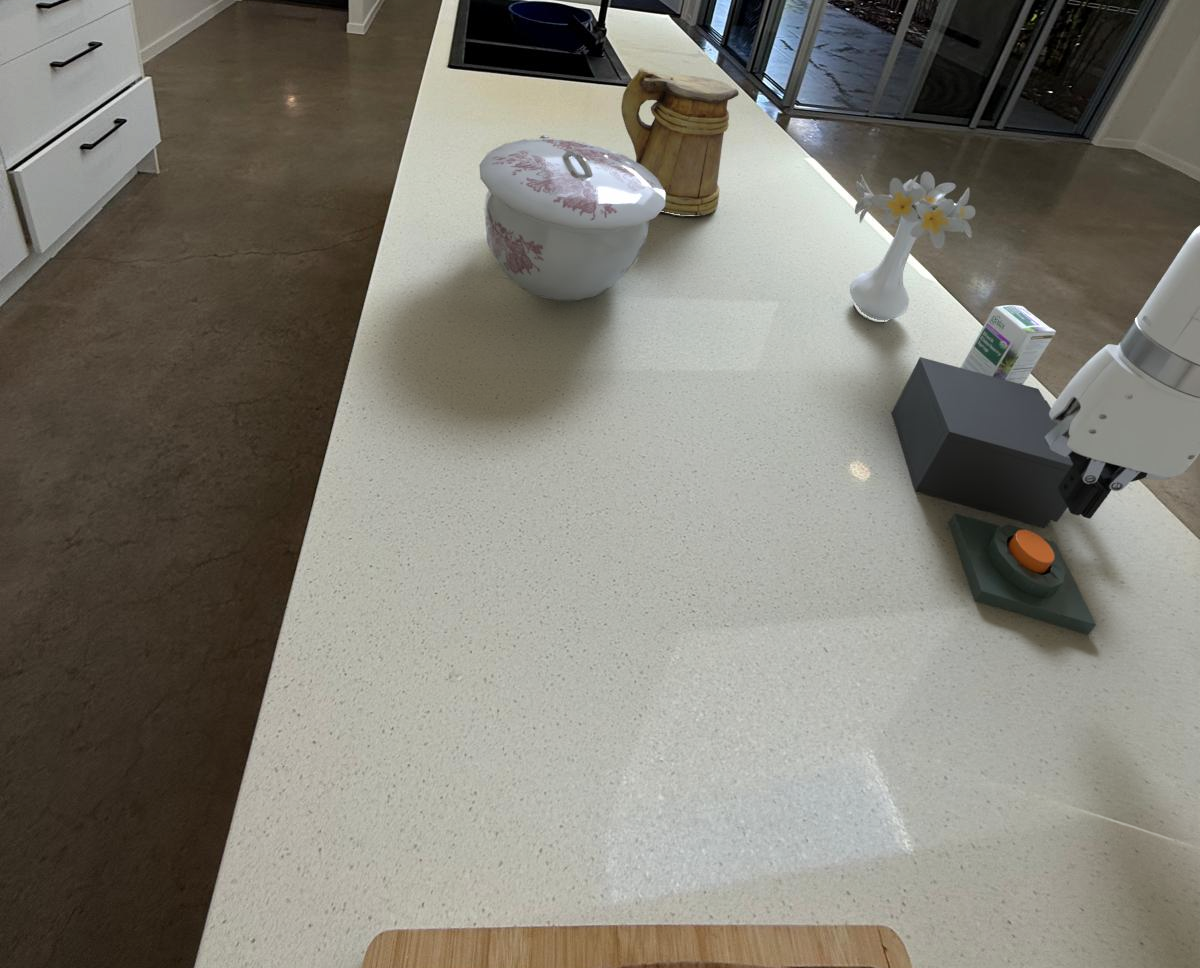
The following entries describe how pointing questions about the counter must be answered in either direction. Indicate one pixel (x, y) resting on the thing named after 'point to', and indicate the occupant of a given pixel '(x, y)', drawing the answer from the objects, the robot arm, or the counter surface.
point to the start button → (1031, 551)
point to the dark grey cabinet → (980, 442)
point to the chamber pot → (566, 215)
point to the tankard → (680, 136)
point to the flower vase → (905, 238)
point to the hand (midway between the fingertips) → (1073, 503)
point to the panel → (1017, 577)
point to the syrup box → (1009, 344)
